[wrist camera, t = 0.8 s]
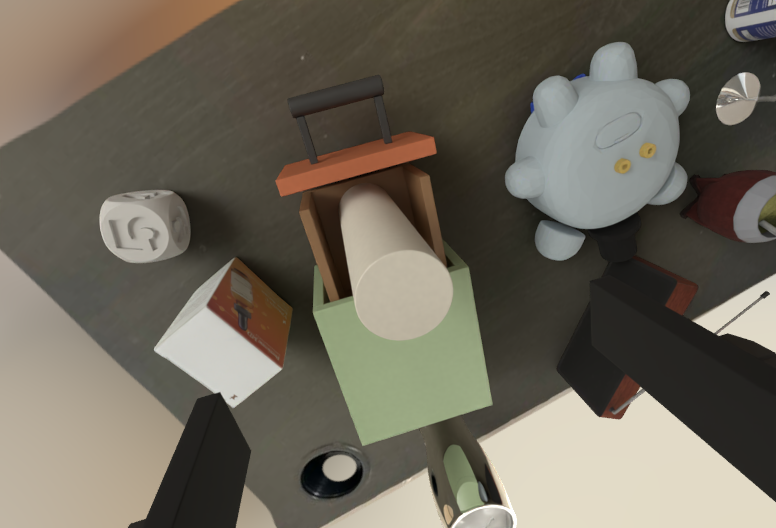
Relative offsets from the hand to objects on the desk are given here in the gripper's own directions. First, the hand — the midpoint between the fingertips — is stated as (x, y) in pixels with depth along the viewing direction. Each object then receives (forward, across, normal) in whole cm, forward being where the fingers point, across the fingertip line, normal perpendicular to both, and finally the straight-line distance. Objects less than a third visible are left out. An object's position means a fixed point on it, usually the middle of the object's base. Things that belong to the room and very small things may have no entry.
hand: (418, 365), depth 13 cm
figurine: (+26, +23, -2) cm, 35 cm away
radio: (+26, +25, -20) cm, 41 cm away
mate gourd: (+26, +38, -10) cm, 47 cm away
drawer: (+25, +1, +1) cm, 25 cm away
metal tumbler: (+26, +3, -28) cm, 39 cm away
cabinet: (+26, +1, -12) cm, 29 cm away
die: (+26, -17, +4) cm, 32 cm away
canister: (+24, +1, 0) cm, 24 cm away
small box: (+26, -13, -6) cm, 30 cm away
